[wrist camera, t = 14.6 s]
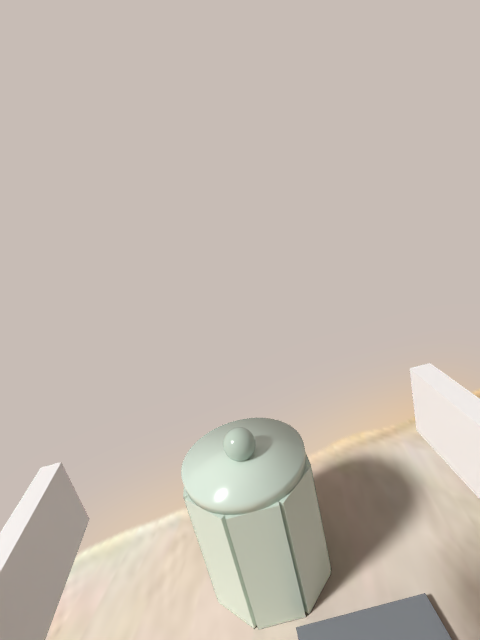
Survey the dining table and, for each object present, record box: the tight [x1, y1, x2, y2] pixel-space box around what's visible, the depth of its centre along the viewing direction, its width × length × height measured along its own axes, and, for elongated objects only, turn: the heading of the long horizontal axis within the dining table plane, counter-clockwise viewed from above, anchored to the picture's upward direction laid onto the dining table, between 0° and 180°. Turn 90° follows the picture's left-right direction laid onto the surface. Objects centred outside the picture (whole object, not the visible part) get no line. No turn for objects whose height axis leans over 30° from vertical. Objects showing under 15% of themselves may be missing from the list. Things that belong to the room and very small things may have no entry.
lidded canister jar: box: [181, 418, 331, 629], centre depth 31 cm, size 10×10×14 cm
